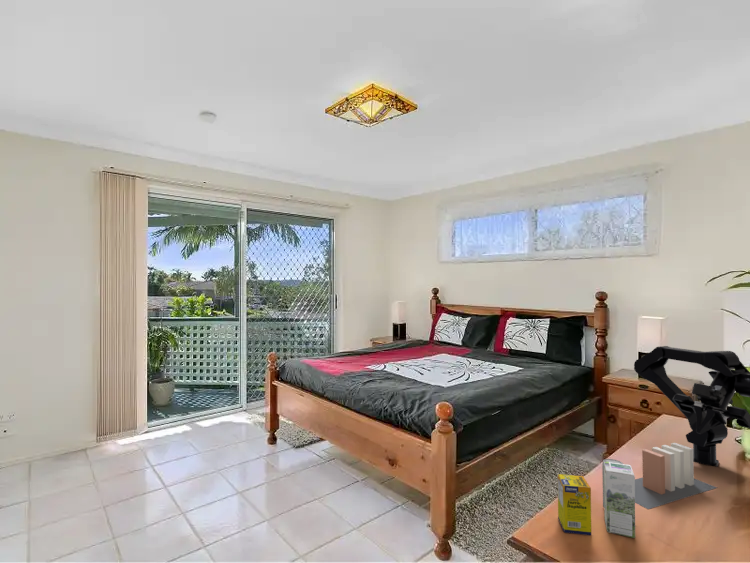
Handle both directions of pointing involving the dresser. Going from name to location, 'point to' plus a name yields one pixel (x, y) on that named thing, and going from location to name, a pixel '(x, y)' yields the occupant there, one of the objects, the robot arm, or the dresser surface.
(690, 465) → the domino
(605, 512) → the syrup box
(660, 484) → the end domino
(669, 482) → the domino
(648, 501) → the domino mat
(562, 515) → the supplement box
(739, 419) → the robot arm
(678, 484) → the domino
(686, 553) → the dresser surface
